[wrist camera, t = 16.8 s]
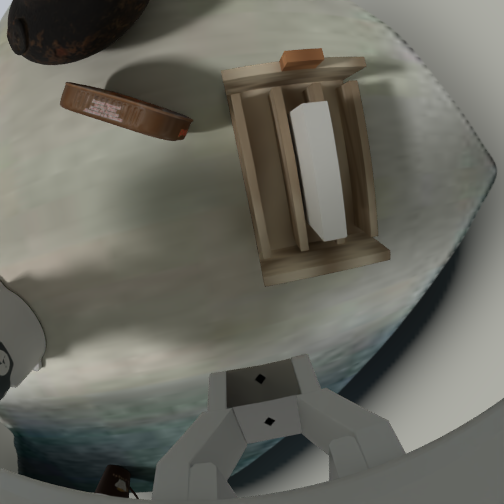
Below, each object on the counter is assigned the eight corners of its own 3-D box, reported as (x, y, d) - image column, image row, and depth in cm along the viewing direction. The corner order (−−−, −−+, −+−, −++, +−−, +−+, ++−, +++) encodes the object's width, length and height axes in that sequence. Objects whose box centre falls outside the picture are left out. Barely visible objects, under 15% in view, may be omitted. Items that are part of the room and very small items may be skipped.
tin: (199, 120, 30) (186, 112, 22) (188, 146, 31) (171, 146, 23) (90, 85, 28) (53, 73, 20) (80, 109, 29) (42, 103, 21)
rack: (259, 257, 36) (267, 302, 26) (225, 88, 29) (218, 61, 19) (361, 236, 36) (404, 271, 25) (337, 74, 29) (377, 48, 19)
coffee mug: (96, 461, 52) (86, 491, 43) (123, 463, 52) (115, 495, 43) (120, 482, 56) (113, 510, 47) (146, 484, 56) (141, 514, 46)
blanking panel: (300, 214, 33) (324, 241, 24) (282, 116, 29) (302, 103, 20) (317, 211, 33) (347, 237, 24) (301, 114, 29) (327, 100, 20)
